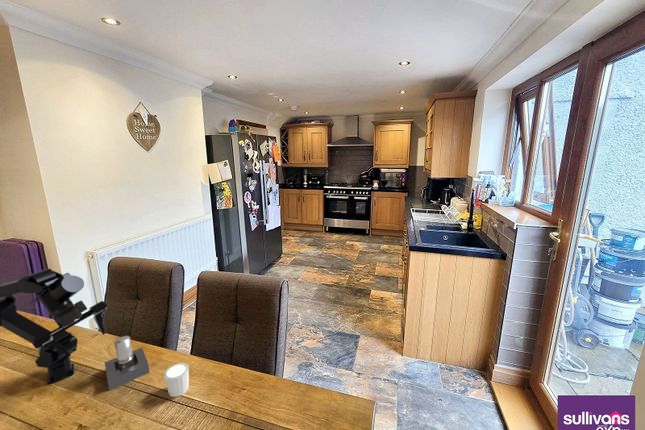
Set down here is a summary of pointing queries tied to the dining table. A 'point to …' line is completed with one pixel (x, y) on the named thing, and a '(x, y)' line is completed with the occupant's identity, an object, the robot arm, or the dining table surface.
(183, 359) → the dining table surface
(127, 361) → the grey rounded cylinder
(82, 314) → the robot arm
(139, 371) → the collar block
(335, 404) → the dining table surface
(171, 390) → the white cylinder
